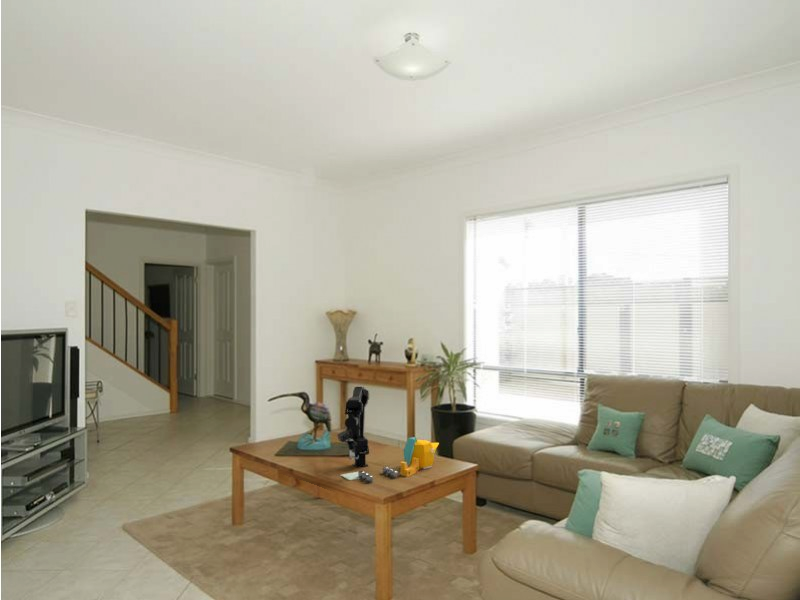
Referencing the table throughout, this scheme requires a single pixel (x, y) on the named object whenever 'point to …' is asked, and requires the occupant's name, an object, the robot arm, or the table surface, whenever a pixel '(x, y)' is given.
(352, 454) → the stepped steel cylinder
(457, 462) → the table surface
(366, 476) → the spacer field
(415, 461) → the pipe clamp
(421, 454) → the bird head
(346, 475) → the sage mat
